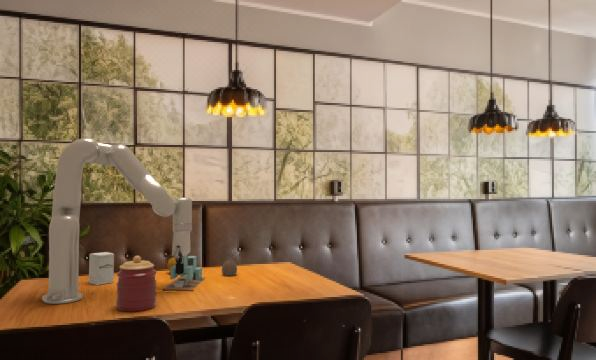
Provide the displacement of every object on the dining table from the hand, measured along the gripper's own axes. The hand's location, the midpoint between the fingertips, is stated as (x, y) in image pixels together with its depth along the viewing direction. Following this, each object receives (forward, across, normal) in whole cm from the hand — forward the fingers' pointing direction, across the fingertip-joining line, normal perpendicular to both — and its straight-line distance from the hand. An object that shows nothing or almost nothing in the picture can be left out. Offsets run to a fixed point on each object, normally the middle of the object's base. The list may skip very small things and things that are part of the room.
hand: (182, 271), depth 179 cm
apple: (+7, -25, -10) cm, 28 cm away
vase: (+7, -23, +15) cm, 28 cm away
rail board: (+7, -6, 0) cm, 9 cm away
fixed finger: (+6, -14, 0) cm, 15 cm away
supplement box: (+7, -7, -37) cm, 38 cm away
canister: (+7, +28, -7) cm, 30 cm away
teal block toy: (+3, 0, 0) cm, 3 cm away
